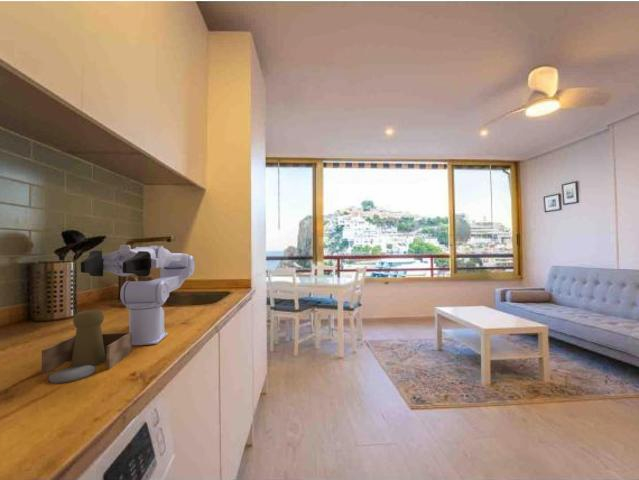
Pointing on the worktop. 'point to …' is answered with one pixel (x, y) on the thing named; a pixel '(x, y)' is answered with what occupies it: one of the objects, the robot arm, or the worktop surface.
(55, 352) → the open wooden enclosure
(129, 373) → the worktop surface
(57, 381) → the coaster
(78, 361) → the pepper mill
